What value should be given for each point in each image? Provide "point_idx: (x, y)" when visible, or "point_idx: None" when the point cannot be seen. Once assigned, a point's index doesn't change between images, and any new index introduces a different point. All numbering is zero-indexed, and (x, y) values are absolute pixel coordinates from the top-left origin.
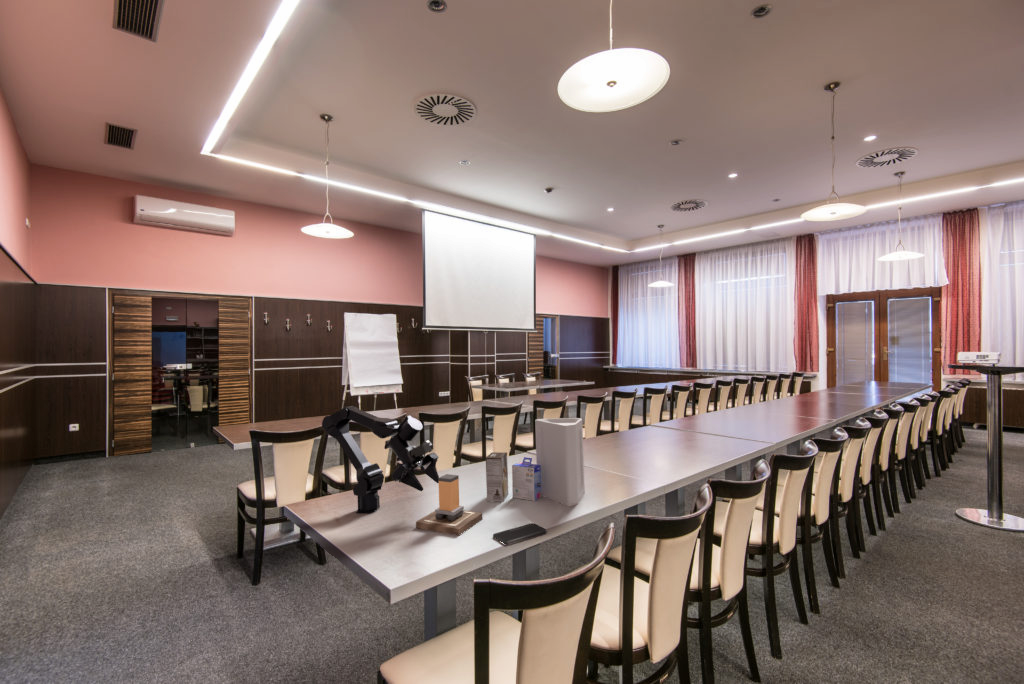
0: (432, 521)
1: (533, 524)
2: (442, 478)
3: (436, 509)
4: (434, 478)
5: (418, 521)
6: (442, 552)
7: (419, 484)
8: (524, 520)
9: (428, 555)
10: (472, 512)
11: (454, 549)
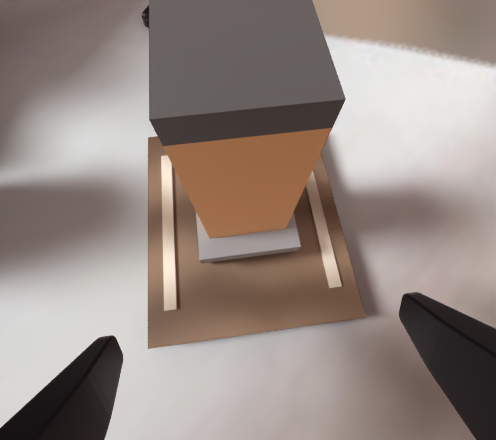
0: (324, 241)
1: (147, 15)
2: (329, 54)
3: (294, 241)
4: (88, 436)
5: (356, 307)
6: (415, 108)
7: (485, 326)
8: (116, 52)
9: (454, 126)
10: (156, 171)
11: (381, 95)
